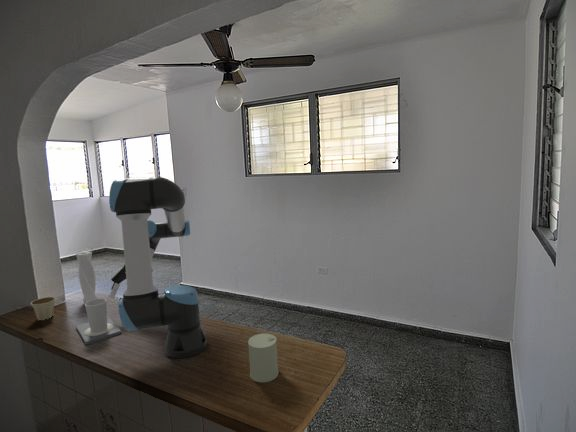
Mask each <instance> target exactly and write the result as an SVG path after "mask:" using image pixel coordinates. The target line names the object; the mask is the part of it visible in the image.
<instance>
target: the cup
mask: <svg viewBox="0 0 576 432" xmlns="http://www.w3.org/2000/svg"><path fill="white" fill-rule="evenodd" d="M107 301H108V300H107V299H106V298H97V299H94V300H91V301H88V302H85V303H84V308H85V312H86V314H87V319H88V322H89V325H90V330H91V332H92V333H98V332H102V331H104V330H106V329H107V328H108V326H107V317H108V310H107V309H108V305H107V303H108V302H107Z"/></svg>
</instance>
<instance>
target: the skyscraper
mask: <svg viewBox="0 0 576 432" xmlns="http://www.w3.org/2000/svg"><path fill="white" fill-rule="evenodd" d="M86 249H90V250H91V251H88V250H86ZM75 255H76V256H75V257H76V259H77V262H78V279H79V284H80V288H81V292H82V295H83V301H84V302H85V303H86V302H88V301H91V300H94V299H98V297H97V296H96V283H97V281H96V273H95V269H94V266H93V264H92V256H93V247H85V248H83V250H82V251H80V252H78V253H76V254H75Z"/></svg>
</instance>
